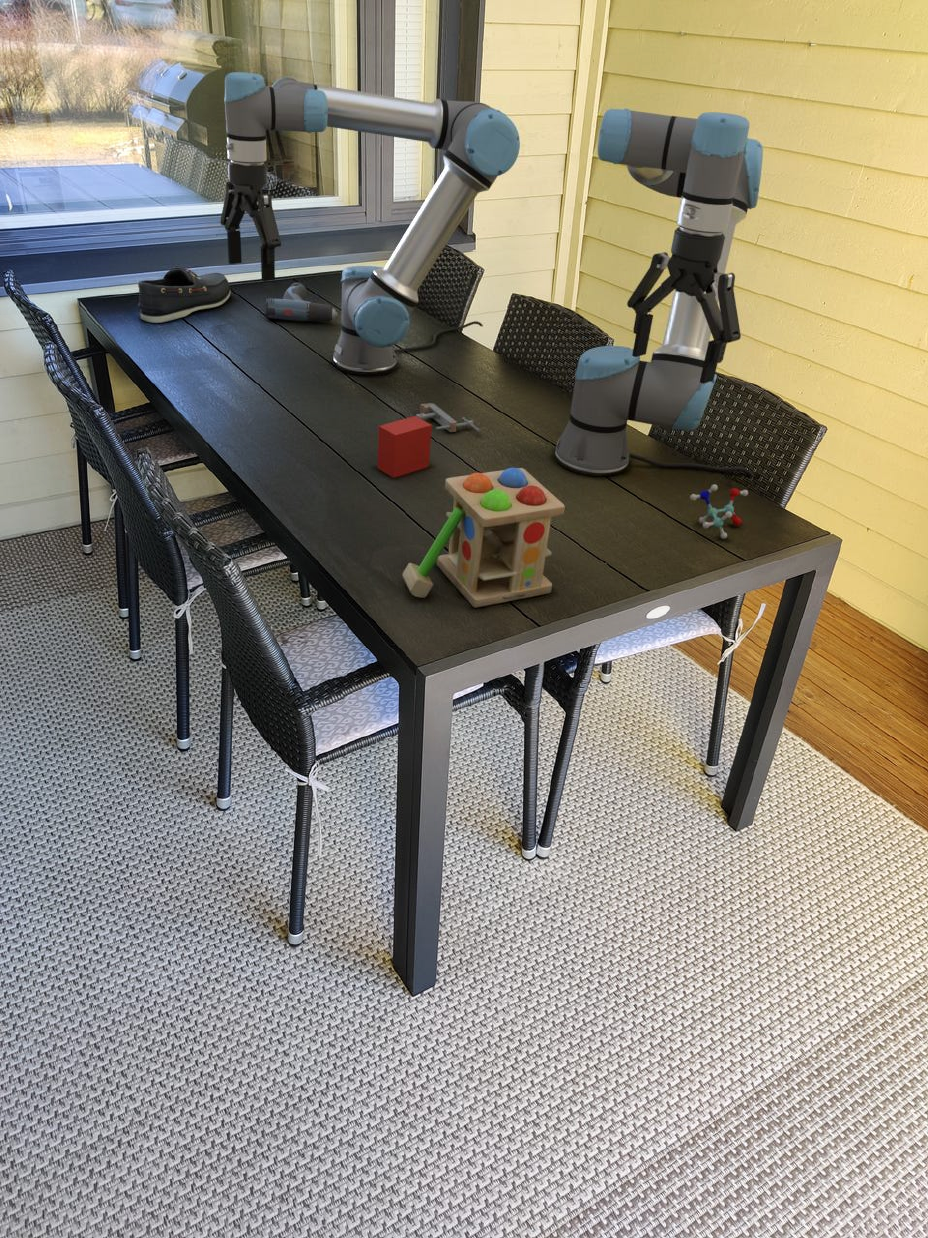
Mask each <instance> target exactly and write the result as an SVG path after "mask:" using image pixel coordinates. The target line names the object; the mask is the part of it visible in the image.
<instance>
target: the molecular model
mask: <svg viewBox="0 0 928 1238" xmlns="http://www.w3.org/2000/svg"><path fill="white" fill-rule="evenodd" d="M718 488H719V487H718V485H717V484H715V483H714V484H712V485H710V488H709V489H708V490H702V491H701V492H700V493H699V494H695V493H692V494H690V496H689V499H690V501H693V502H694V501H696V500H697V499H701V500H702V501H705V504H706V506H707V508H708V509H707V511H706V512H707V514H706V515H705V516H701V517H699V519H698V522H699V523H700V525H701V524H702V528H703V529H709V527H712V526H713V527H714V528H717V529H718V530H719V532H720V535H719V537H720V539H722V540H725V539H727V537H728V533H727V532H725V531H724V528H723V526H724V521H725V520H727V519H731V520H732V524H733V525H734V526H735V527H739V526H741V525H742V519H741V518H740V517H738V516H737V514H736V513H735V512H734V511H735V507H734V506H733V504H734V500H735V498H736V497H738V496H739V495H741V496H742V497H747V496H748V494H749V491H748V490H747V489H742V490H739V489H737V488H735V487H734V488H731V489H730V490H729V496H730V500H729V502H728V504H726V505H724V507H723V508H719V509H717V508H716V507H712V505H711V502H710V500H709V499H710V494H711V493H713V492H716V491H717V490H718ZM720 513H725V514H724V516H722V517H717V515H718V514H720ZM709 518H713V521H710V522H708V521H706V520H707V519H709Z"/></svg>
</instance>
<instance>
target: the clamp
mask: <svg viewBox="0 0 928 1238" xmlns="http://www.w3.org/2000/svg"><path fill="white" fill-rule="evenodd" d="M419 407H420V409H419V413H416V415H415V416H416V417H418V418H420V419H422V420H423V421H427V420H428V419H433V420H434V421H435V422H436V423H438V424H439V425H440V426H436V427H435V430H443V431H444V430H446V431H448V432H449V433H454V432H457V428H461V427H466V428H470V427H471V428H473V429H474V430H476V433H477V434H479V433H481V432H482V428H479V427H477V426H476V425H475V424H474V420H472V419H470V420H467V419H466V417H465V416H462V417H461V418H460V420H461V421H462V422H457V421H456V420H455V419H454V418H453V417H451V416H450V415H449V414H448V413H446V412H445V411H444V410H443V409H442V408H440V407H438V405H436V404H435V403H433V402H431V403H430V402H429V403H421V404H420V406H419Z"/></svg>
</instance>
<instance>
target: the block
mask: <svg viewBox="0 0 928 1238" xmlns="http://www.w3.org/2000/svg"><path fill="white" fill-rule="evenodd" d="M432 428H433V425H432V424H431V423H429V422H427V421H426V420H422V419H420V418H418V417H416V415H414V416H411V417H407V418H403V419H399V420H395V421H392V422H389V423H388V422H387V423H385V424H381V425H378V438H377V439H378V440H377V467H376V468H377V469H378V470H379V471H381V472H383V473H384V474H386V475H388V476H389V477H391V478H393V479H395V478H398V477H400V476H401V477H402V476H405V475H408V474H411V473H413V472H417V471H420V470H424V469H427V468H429V467H430V456H431V444H432V443H431V442H432V430H433V429H432Z"/></svg>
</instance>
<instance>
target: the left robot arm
mask: <svg viewBox="0 0 928 1238" xmlns="http://www.w3.org/2000/svg"><path fill="white" fill-rule="evenodd" d="M224 113H225V128H226V129H225V130H226V144H225V145H226V147H225V148H226V150H227V159H228V160H229V162H228V163H227V171H228V181H226V183H225V196H224V200H223V205H222V211H221V216H220V221H219V223H220V225H221V226H223V227H224V229H225V231H226V238H227V258H228V264H229V265H235V264H242V263H243V262H242V261H243V259H242V239H241V226H240V224H241V223H242V220H243V218H244V215H245V214H246V213H247V214H248V216H249V217H250V218H252V220H253V223H254V226H255V229H256V231H257V234H258V236H259V239H260V242H261V246H260V270H261V273H260V274H261V281H262V282H267V281H269V282H270V281H274V280H276V265H275V264H276V258H275V256H276V255H275V251H276V250H275V249H276V248H279V247H281V246H282V241H281V236H280V232H279V229H278V225H277V221H276V216H275V213H274V208H273V202H272V201H273V200H272V195H271V193H266V194H263V191H262V187H263V186H265V185H266V184H267V183H268V170H267V169H268V166H267V165H266V163H265V162H266V161H267V160H268V159H267V157H268V156H267V135H266V133H267V131H284V132H299V133H300V132H301V133H307V134H312V133H323V132H324V131H326V130H327V127H328V128H334V129H341V130H347V131H354V132H360V133H366V134H367V133H368V134H373V135H380V136H387V137H391V138H398V139H405V140H412V141H418V142H424V143H427V144H428V145H429V146H430V147H431V148H432V149H436V150H441V151H442V150H443V151H445V153H444V154H443V156H442V158H443V163H444V167H443V170H442V171H441V172H440V175H439V177H438V179H436V181H435V183H434V185H433V187H432V188H431V189H430V191H429V193H428V195H427V196H426V198H425V200H424V201H423V203H422V205H421V206H420V208H419V210H418V211H417V213H416V215H415V216H414V218H413V219H412V221H411V222H410V224H409V226H408V228H407V229H406V231H405V233H404V234H403V236H402V237H401V239H400V241H399V243H398V244H397V246H396V247H395V249H394V250H393V252H392V254H391V255H390V257H389V259H388V260H387V262H386V264H385V265H384V267H382V266H376V265H375V266H373V265H352V266H347V267H345V268H344V269H343V270H342V273H341V279H340V283H341V319H340V321H341V324H340V325H341V326H340V329H341V330H340V336H339V338H338V341H337V343H335V347H334V349H333V350H334V352H333V361H332V362H333V363H332V364H333V366H334V367H335V368H337V369H338V370H339V371H342V372H344V373H347V374H352V375H356V376H380V375H381V376H382V375H386V374H389V373H391V372H393V371H395V369H396V368H397V361H398V359H397V354H396V353H403V352H409V351H410V352H411V351H418V350H424V349H427V348H430V347H432V346H434V345H435V344H436V341H437V337H438V336H440V335H441V334H444V333H447V332H453V331H459V330H462V329H465V328H467V327H470V326H473V325H478V326H479V327H484V325H483V323H482V322H480V321H476V320H473V321H470V322H468V323H466V324H463V325H460V326H455V327H451V328H445V329H443V330H439V331H437V332H436V333H434V335H433V337H432V342H430V343H427V344H424V345H420V346H413V347H406V348H405V347H404V348H399V349H398V348H397V349H395V347H394V346H395V345H397V344H399V343H400V342H401V341H402V340H403V339H404V338H405V337H406V335H407V333H408V331H409V328H410V322H411V321H410V320H411V319H410V316H411V314H412V313H413V311H414V309H415V308H416V306H417V305H418V303H419V301H420V300H419V296H418V290H419V288H420V287H421V285H422V283H423V282H424V280H425V279H426V278H427V275H428V274H429V272H430V271H431V270H432V268H433V266H434V264H435V263H436V261H437V259H438V258H439V256H440V255H441V254H442V252H443V250H444V248H445V247H446V245H447V243H448V242H449V240H450V239H451V238H452V236H453V234H454V232H455V231H456V229H457V227H458V226H459V224H460V223H461V222H462V220H463V218H464V216H465V215H466V213H467V212H468V210H469V208H470V207H471V206H472V204H473V202H474V200H475V199H476V197H477V196H478V194H479V193H482V192H483V193H484V192H488V191H489V190H490V189H491V187H492V186H493V185H494V183H495V181H496V180H497V178H498V177H499V176H502V175H504V174H505V173H508V172H509V170H510V169H512V167H513V166H514V165H515V164H516V161H517V160H518V157H519V154H520V148H521V141H520V134H519V131H518V128H517V126H516V125H515V123H514V122H513V120H512V119H510V117H509V116H507V114H506V113H504V112H502V111H501V110H500V109H496V108H494V107H491V106H490V105H488V104H486V103H483V102H481V101H480V102H479V101H461V100H460V101H459V100H450V99H441V98H435V100H434V101H433V102H427V101H421V100H414V99H408V98H403V97H402V98H401V97H397V96H390V95H386V94H385V95H384V94H379V93H372V92H367V91H360V90H355V89H347V88H342V87H335V86H328V85H323V84H314V83H310V82H305V81H304V82H303V81H299V80H296V79H294V78H292V77H291V78H290V77H281V78H279V79H277V80H276V81H275V82H274V83H273V84H272V85H271V86H269V85H266V83H265V78H264V76H263V75H262V74H260V73H253V72H252V73H251V72H244V71H237V72H236V71H234V72H233V71H232V72H229V73H228V74H226V76H225V78H224Z"/></svg>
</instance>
